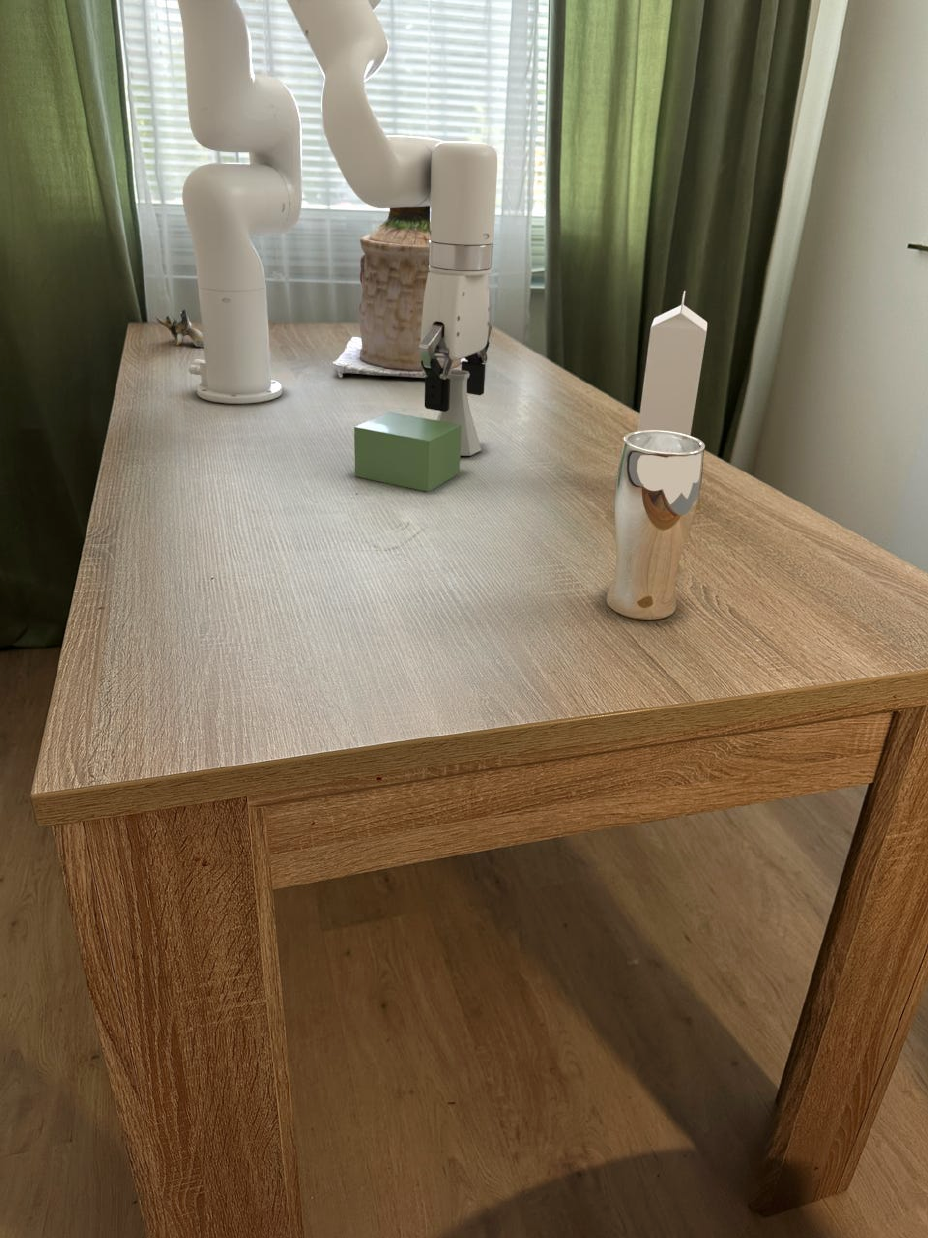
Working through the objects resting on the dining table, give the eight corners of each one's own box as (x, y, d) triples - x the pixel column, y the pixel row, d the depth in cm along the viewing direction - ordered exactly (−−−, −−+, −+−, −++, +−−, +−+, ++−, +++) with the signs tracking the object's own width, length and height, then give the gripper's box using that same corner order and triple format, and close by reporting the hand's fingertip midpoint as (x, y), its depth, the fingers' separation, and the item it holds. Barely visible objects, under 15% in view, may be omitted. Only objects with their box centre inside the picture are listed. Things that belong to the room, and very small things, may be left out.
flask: (476, 460, 117) (479, 381, 112) (420, 454, 118) (422, 376, 113) (486, 444, 123) (490, 368, 118) (433, 438, 124) (435, 363, 119)
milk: (629, 491, 109) (653, 296, 98) (633, 475, 114) (656, 288, 104) (682, 497, 108) (711, 300, 97) (683, 480, 113) (711, 291, 102)
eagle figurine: (149, 337, 168) (182, 335, 164) (159, 301, 169) (191, 297, 164) (182, 355, 175) (214, 353, 170) (191, 320, 176) (223, 317, 171)
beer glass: (594, 587, 85) (612, 428, 78) (667, 587, 86) (692, 429, 79) (611, 623, 79) (633, 453, 72) (690, 622, 79) (719, 454, 72)
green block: (354, 476, 109) (353, 426, 107) (389, 458, 116) (389, 411, 113) (428, 492, 106) (429, 441, 103) (460, 473, 112) (461, 424, 109)
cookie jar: (479, 385, 152) (490, 169, 137) (330, 378, 152) (324, 161, 137) (480, 353, 173) (489, 164, 158) (350, 347, 173) (346, 157, 158)
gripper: (465, 249, 118) (459, 383, 126) (396, 261, 104) (394, 411, 112) (519, 255, 115) (509, 392, 123) (455, 268, 101) (449, 421, 109)
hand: (455, 401), depth 117 cm, fingers open, 9 cm apart
